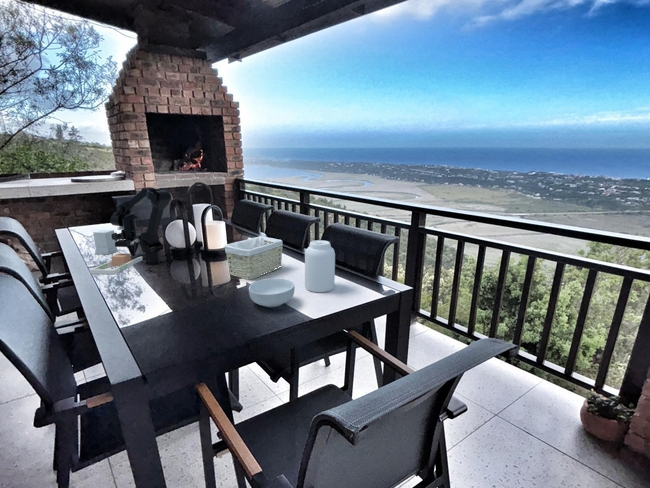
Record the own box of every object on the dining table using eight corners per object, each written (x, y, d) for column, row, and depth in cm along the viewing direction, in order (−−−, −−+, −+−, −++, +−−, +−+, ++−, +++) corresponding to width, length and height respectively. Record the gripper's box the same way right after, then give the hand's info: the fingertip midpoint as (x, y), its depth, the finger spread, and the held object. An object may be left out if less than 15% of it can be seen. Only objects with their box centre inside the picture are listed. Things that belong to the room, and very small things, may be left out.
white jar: (308, 294, 134) (308, 246, 129) (302, 283, 146) (302, 239, 141) (338, 291, 137) (339, 244, 133) (329, 281, 149) (330, 237, 144)
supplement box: (117, 251, 192) (114, 229, 189) (108, 254, 185) (105, 232, 182) (105, 250, 193) (102, 229, 190) (96, 254, 186) (92, 232, 183)
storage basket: (249, 282, 147) (248, 249, 143) (224, 275, 156) (222, 244, 152) (284, 268, 166) (284, 239, 163) (260, 262, 175) (260, 235, 171)
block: (131, 263, 172) (130, 253, 170) (124, 266, 166) (123, 256, 165) (120, 262, 172) (118, 253, 171) (112, 266, 166) (111, 256, 165)
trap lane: (142, 259, 177) (142, 256, 176) (113, 274, 154) (113, 270, 153) (122, 259, 177) (122, 255, 177) (90, 273, 154) (89, 269, 154)
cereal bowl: (274, 291, 137) (273, 274, 135) (303, 302, 127) (303, 284, 125) (240, 303, 124) (239, 286, 123) (270, 317, 114) (269, 298, 112)
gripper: (125, 223, 183) (129, 251, 187) (102, 230, 165) (106, 260, 168) (145, 224, 182) (148, 251, 186) (124, 230, 164) (128, 261, 168)
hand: (133, 255), depth 177 cm, fingers closed
